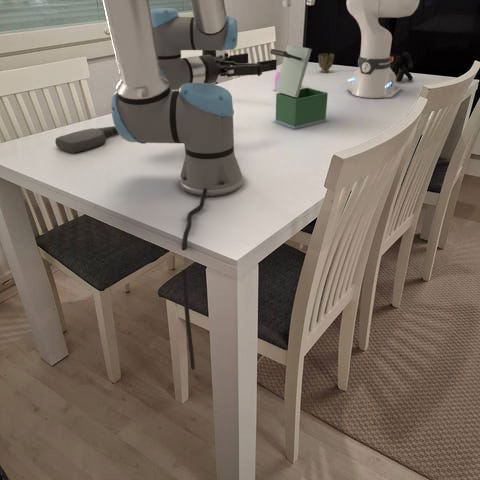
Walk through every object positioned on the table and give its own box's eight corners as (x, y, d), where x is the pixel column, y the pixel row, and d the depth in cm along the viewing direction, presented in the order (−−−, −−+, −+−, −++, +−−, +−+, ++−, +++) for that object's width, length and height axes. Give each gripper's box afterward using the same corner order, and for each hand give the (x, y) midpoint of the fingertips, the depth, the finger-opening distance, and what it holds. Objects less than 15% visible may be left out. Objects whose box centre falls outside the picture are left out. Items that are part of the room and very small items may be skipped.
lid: (290, 45, 142) (269, 38, 136) (311, 49, 135) (291, 41, 129) (277, 91, 147) (257, 86, 141) (297, 97, 140) (277, 92, 134)
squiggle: (400, 92, 202) (376, 71, 205) (417, 76, 202) (392, 56, 205) (405, 81, 191) (380, 59, 194) (423, 64, 191) (397, 42, 194)
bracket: (286, 91, 186) (286, 74, 182) (275, 89, 189) (275, 72, 185) (302, 85, 195) (302, 68, 191) (291, 83, 197) (291, 67, 194)
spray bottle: (53, 147, 134) (120, 127, 150) (74, 154, 128) (141, 133, 144) (51, 137, 132) (118, 118, 149) (72, 145, 126) (140, 124, 143)
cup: (315, 72, 216) (316, 55, 212) (320, 69, 222) (321, 52, 218) (330, 73, 213) (331, 56, 209) (334, 71, 219) (336, 53, 215)
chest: (305, 114, 158) (307, 87, 153) (325, 121, 151) (327, 92, 146) (275, 121, 152) (276, 93, 147) (294, 129, 145) (296, 99, 140)
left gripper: (178, 77, 132) (237, 68, 143) (225, 93, 115) (288, 81, 125) (176, 50, 128) (236, 42, 139) (224, 62, 111) (289, 53, 121)
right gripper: (320, -50, 131) (316, 3, 139) (266, -50, 122) (265, 7, 129) (336, -51, 127) (331, 4, 134) (281, -51, 117) (279, 8, 124)
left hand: (261, 61), depth 132 cm, fingers open, 13 cm apart
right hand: (298, 6), depth 132 cm, fingers open, 8 cm apart
